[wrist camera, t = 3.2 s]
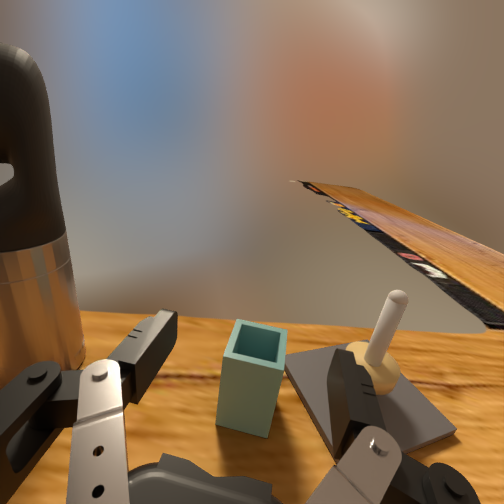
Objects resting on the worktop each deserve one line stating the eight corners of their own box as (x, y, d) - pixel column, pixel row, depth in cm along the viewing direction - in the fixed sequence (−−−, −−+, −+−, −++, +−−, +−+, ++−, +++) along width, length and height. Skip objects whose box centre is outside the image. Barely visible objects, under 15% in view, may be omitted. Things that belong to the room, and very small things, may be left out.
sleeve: (215, 424, 29) (223, 356, 25) (228, 380, 34) (237, 318, 30) (267, 438, 28) (284, 370, 24) (273, 392, 34) (287, 329, 30)
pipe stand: (345, 479, 26) (403, 356, 19) (279, 360, 38) (302, 262, 32) (453, 434, 32) (526, 327, 25) (365, 344, 44) (399, 258, 38)
